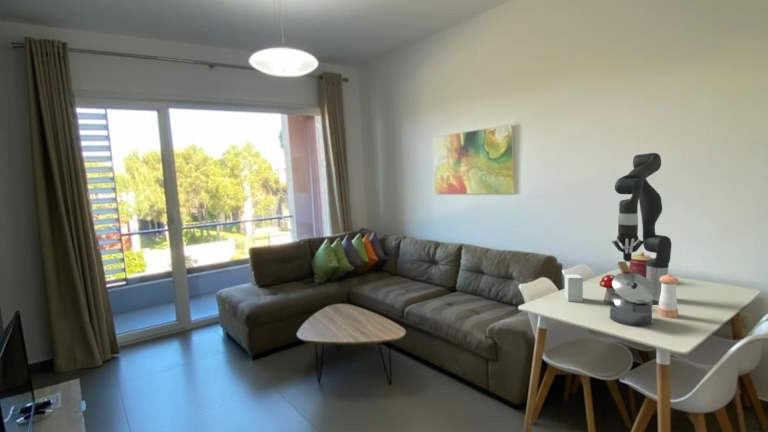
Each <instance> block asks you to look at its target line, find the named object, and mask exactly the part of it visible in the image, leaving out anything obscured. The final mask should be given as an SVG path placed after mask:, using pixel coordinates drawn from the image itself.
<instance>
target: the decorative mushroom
mask: <svg viewBox="0 0 768 432" xmlns="http://www.w3.org/2000/svg"><path fill="white" fill-rule="evenodd" d="M615 276H616V275H613V274H606V275H605V276H604V275H603V277H602V278H601V279H600V282H599V286H600V287H602V288H605V289H606V290H605V294H604V297H603V299H602V303H603V304H604V300H610V296H611V295H612V294H615V293H616V292H615V291H614V289H613V287H612V281H613V279H614V277H615ZM604 305H605V306H607V305H606V304H604ZM608 306H609V307H610V305H608Z"/></svg>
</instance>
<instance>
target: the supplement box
mask: <svg viewBox="0 0 768 432" xmlns="http://www.w3.org/2000/svg"><path fill="white" fill-rule="evenodd" d="M583 282H584V278H583V277H582V276H581V275H580V274H564V299H566V301H567V302H575V303H576V302H577V303H578V302H580V303H581V302H584V301H583V300H584V295H583V293H584V291H583V290H584V283H583Z"/></svg>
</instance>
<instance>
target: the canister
mask: <svg viewBox="0 0 768 432" xmlns="http://www.w3.org/2000/svg"><path fill="white" fill-rule="evenodd" d="M649 259H654V258H653V257H652V256H650V255H647V254H645V253H644V251H640V252H639V253H638V254H632V256H631V260H630V261H629V265H628V268H629V270H630V272H632V273H636V274H639V275H641V276H643V277H645V278H646V273H647V260H649Z"/></svg>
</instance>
